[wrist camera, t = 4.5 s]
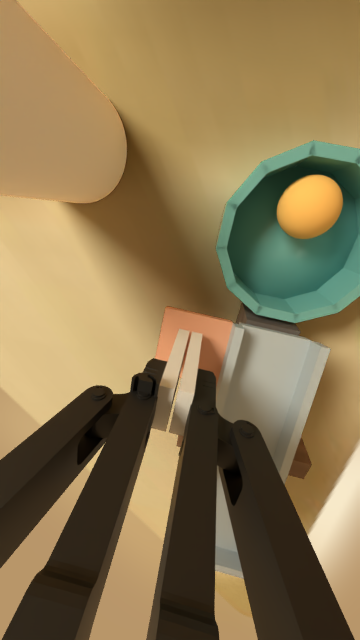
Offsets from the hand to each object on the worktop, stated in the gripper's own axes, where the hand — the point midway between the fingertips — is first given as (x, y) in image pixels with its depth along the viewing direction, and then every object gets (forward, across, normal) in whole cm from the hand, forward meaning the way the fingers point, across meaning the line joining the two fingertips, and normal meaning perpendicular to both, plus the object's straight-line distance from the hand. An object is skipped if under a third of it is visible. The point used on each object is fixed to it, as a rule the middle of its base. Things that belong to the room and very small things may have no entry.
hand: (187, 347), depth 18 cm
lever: (+1, +4, -8) cm, 9 cm away
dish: (+7, +6, +8) cm, 12 cm away
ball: (+4, +6, +10) cm, 13 cm away
